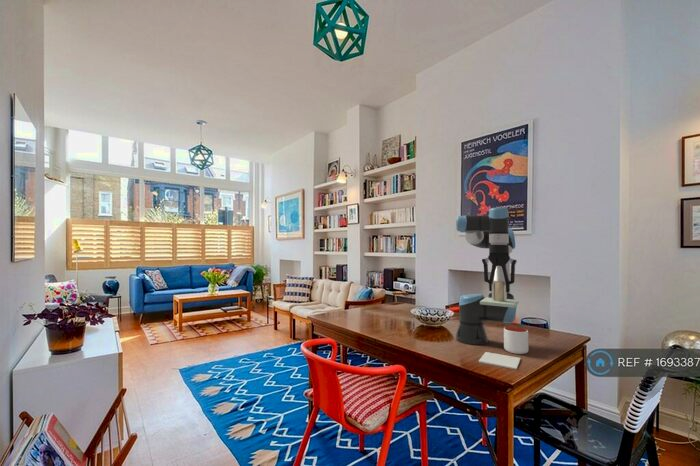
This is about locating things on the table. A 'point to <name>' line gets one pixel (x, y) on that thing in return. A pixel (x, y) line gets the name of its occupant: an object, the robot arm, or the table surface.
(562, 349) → the table surface
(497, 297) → the lid
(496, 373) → the table surface
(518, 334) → the cup
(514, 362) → the mat
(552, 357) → the table surface
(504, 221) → the robot arm
